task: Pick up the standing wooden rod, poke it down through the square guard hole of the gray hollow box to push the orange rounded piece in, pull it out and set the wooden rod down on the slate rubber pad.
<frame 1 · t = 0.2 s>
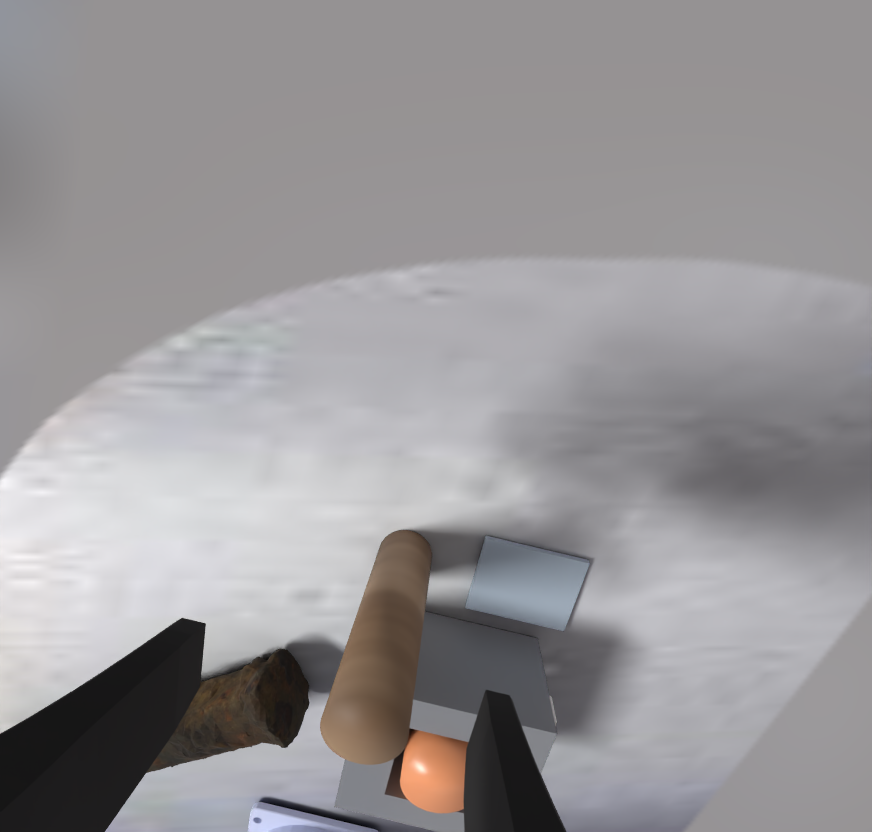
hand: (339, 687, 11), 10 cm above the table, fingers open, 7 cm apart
orange rounded piece: (440, 755, 19), point 4 cm above the table, slide at 0.0 cm
wooden rod: (405, 553, 21), on the table
pad: (525, 582, 21), on the table
gray hollow box: (445, 672, 23), on the table
brown rough rod: (170, 706, 26), on the table
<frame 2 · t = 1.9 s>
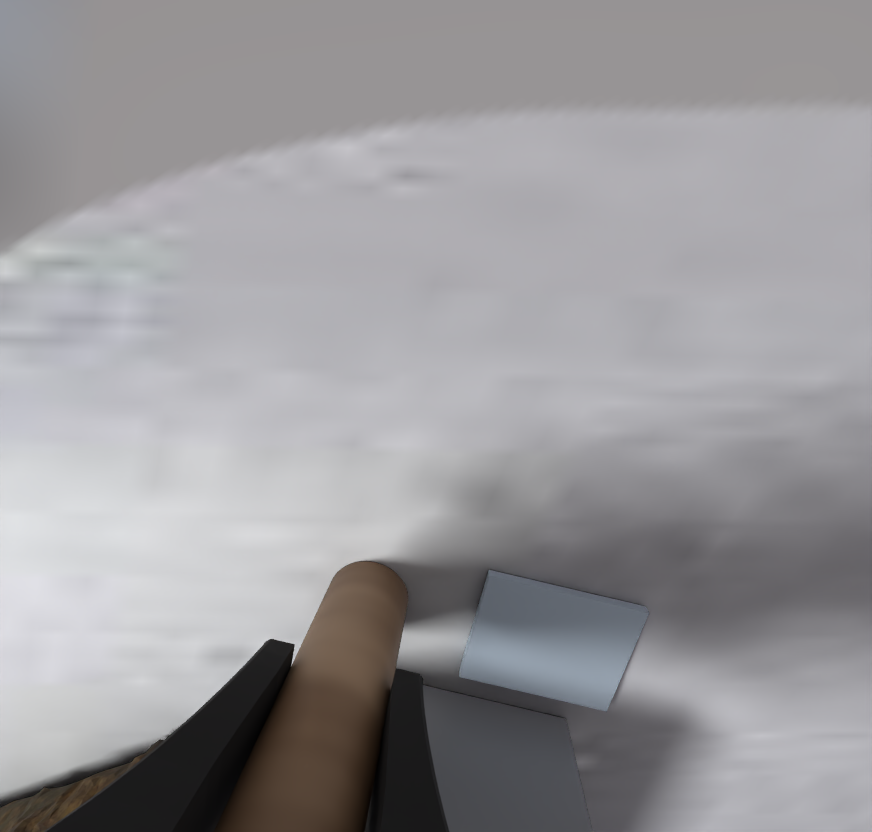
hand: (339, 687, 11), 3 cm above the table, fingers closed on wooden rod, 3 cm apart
wooden rod: (368, 596, 14), on the table, touching gripper
pad: (548, 639, 14), on the table
gray hollow box: (430, 765, 16), on the table
brown rough rod: (57, 804, 19), on the table
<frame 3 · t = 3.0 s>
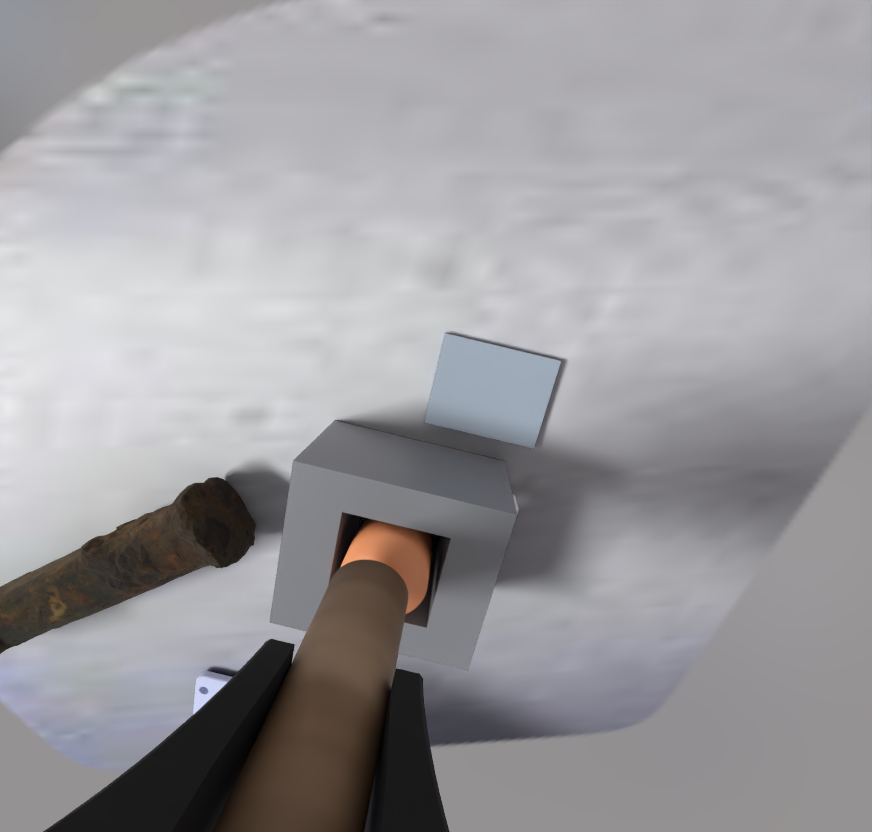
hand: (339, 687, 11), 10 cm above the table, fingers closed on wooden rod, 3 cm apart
orange rounded piece: (389, 560, 17), point 4 cm above the table, slide at 0.0 cm
wooden rod: (368, 594, 14), point 7 cm above the table, touching gripper
pad: (490, 391, 19), on the table
gray hollow box: (404, 507, 21), on the table
brown rough rod: (113, 567, 24), on the table
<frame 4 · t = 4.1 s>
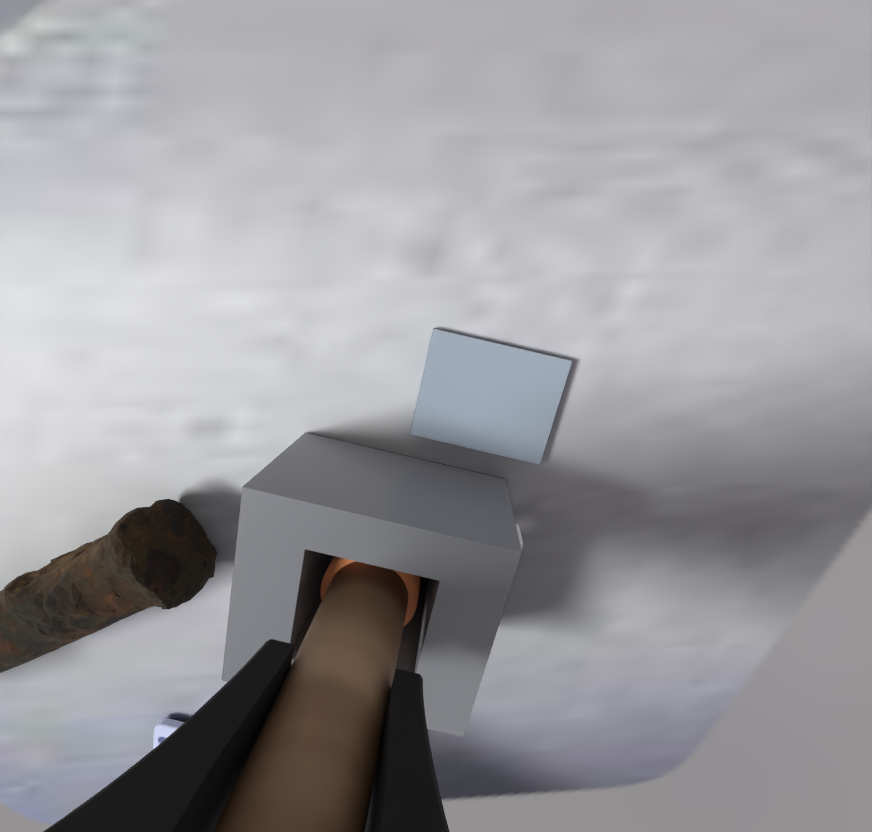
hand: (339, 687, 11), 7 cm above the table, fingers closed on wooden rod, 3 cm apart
orange rounded piece: (375, 573, 15), point 3 cm above the table, slide at 1.6 cm, touching wooden rod
wooden rod: (368, 595, 14), point 4 cm above the table, touching gripper, orange rounded piece
pad: (487, 397, 16), on the table
gray hollow box: (388, 533, 18), on the table
brown rough rod: (58, 602, 21), on the table
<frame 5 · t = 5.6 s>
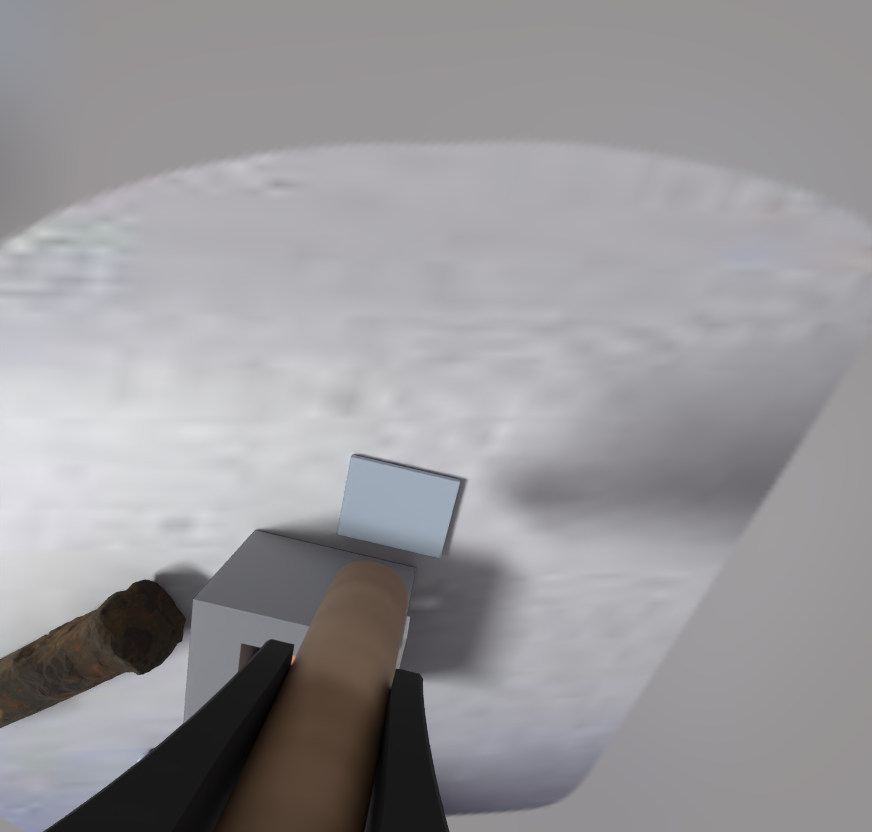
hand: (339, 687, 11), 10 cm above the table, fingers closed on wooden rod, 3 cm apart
orange rounded piece: (306, 648, 20), point 3 cm above the table, slide at 1.6 cm
wooden rod: (368, 595, 14), point 6 cm above the table, touching gripper
pad: (397, 506, 20), on the table
gray hollow box: (324, 607, 22), on the table
brown rough rod: (57, 659, 25), on the table
when the fingers open (4 cm above the table, at t = 6.8 s): wooden rod stays where it is, resting on pad.
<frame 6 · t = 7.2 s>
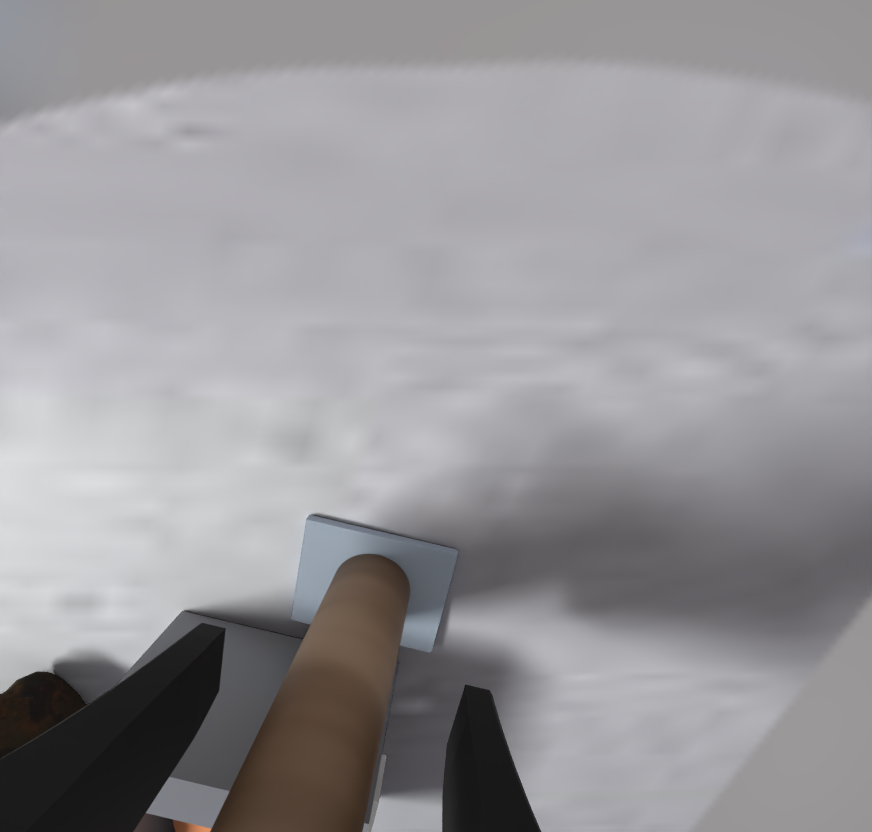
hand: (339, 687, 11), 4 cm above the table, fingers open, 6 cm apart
orange rounded piece: (244, 785, 14), point 3 cm above the table, slide at 1.6 cm
wooden rod: (371, 588, 15), resting on pad
pad: (372, 583, 15), on the table
gray hollow box: (278, 709, 17), on the table
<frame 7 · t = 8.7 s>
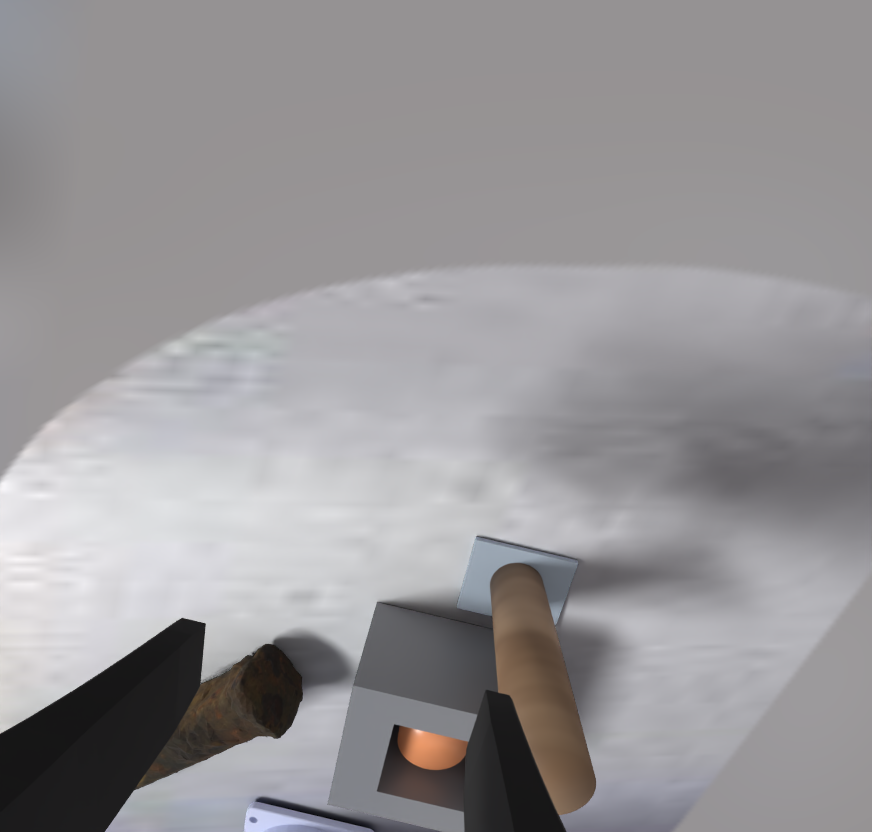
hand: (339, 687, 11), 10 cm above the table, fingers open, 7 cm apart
orange rounded piece: (434, 718, 21), point 3 cm above the table, slide at 1.6 cm
wooden rod: (516, 585, 21), resting on pad
pad: (515, 582, 22), on the table
gray hollow box: (437, 672, 24), on the table
brown rough rod: (176, 717, 26), on the table
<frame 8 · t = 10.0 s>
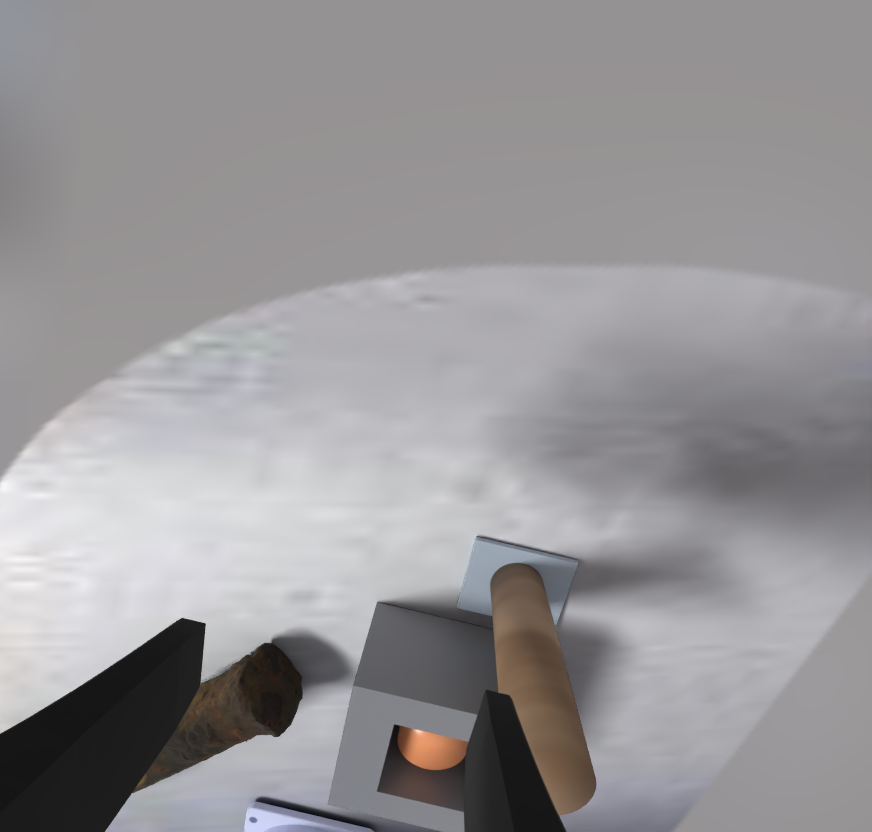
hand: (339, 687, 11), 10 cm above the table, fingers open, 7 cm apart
orange rounded piece: (434, 718, 21), point 3 cm above the table, slide at 1.6 cm
wooden rod: (516, 586, 21), resting on pad
pad: (515, 582, 22), on the table
gray hollow box: (437, 672, 24), on the table
brown rough rod: (178, 718, 26), on the table
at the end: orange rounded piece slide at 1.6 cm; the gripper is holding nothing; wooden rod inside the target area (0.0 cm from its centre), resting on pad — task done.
